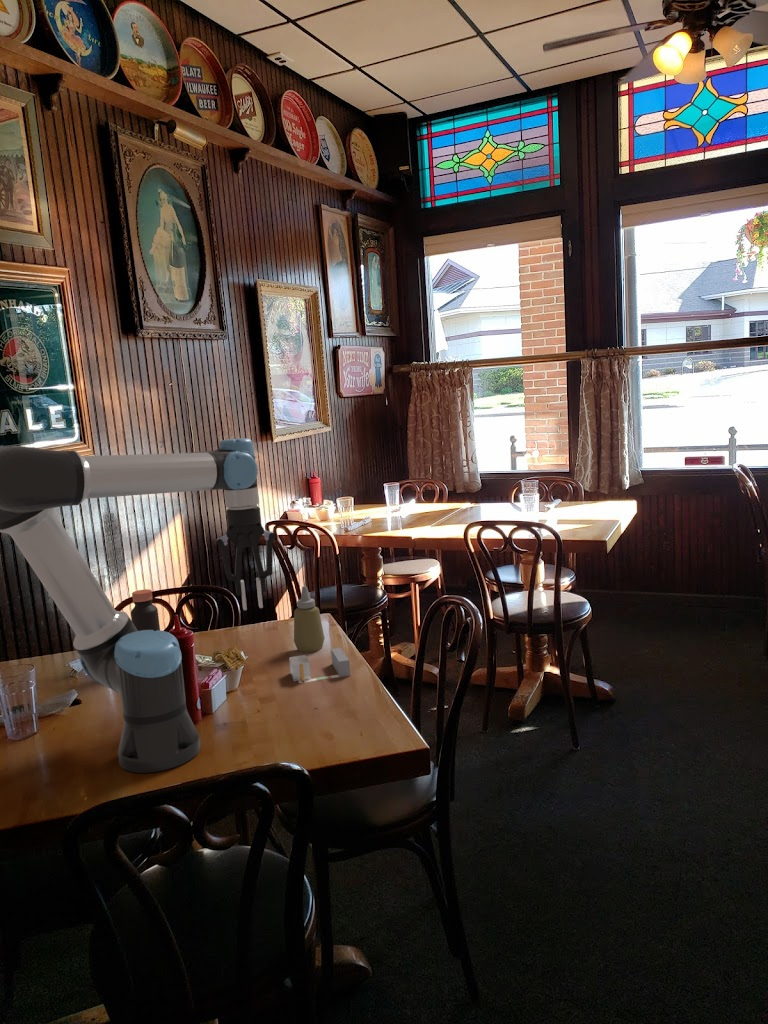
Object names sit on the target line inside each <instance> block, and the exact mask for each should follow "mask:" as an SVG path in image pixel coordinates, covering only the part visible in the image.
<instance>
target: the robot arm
mask: <svg viewBox="0 0 768 1024" xmlns="http://www.w3.org/2000/svg"><path fill="white" fill-rule="evenodd" d="M253 443H254V442H253V441H252V439H251V438H247V437H246V438H245V437H242V438H241V437H240V438H229V439H221V440H220V441H219V444H218V445H219V446H218V449H214V450H204V451H193V452H178V453H176V452H175V453H147V454H146V453H144V454H114V455H113V454H111V455H109V454H108V455H106V454H105V455H81V454H80V453H79V452H78V451H77V450H56V449H55V450H53V449H42V448H38V447H37V448H35V447H31V446H30V447H29V446H21V445H12V446H11V445H10V446H7V445H0V533H4V534H8V535H9V536H10V537H11V538H12V540H13V541H14V543H15V544H16V546H17V547H18V550H19V551H20V553H21V554H22V555H23V557H24V558H25V560H26V562H27V563H28V564H29V566H30V567H31V569H32V570H33V572H34V573H35V575H36V576H37V578H38V579H39V581H40V582H41V584H42V585H43V587H44V589H45V590H46V591H47V593H48V594H49V596H50V597H51V599H52V601H53V602H54V603H55V605H56V606H57V608H58V610H59V611H60V612H61V613H60V614H62V615H63V617H64V618H65V620H66V622H67V623H68V624H69V626H70V627H71V629H72V631H73V632H74V634H75V637H74V639H73V643H72V644H73V647H74V648H75V651H76V652H77V654H78V655H79V662H80V665H81V668H82V669H83V671H84V673H86V675H87V676H88V677H89V678H90V679H91V680H92V681H94V682H95V683H97V684H100V685H101V686H105V687H106V688H107V689H109V690H112V691H114V692H116V693H117V694H119V695H120V700H121V701H120V702H121V708H122V717H123V727H122V731H121V736H120V741H119V745H118V750H117V753H118V754H117V756H118V763H119V766H120V767H121V768H122V769H123V770H125V771H128V772H132V773H138V774H141V773H142V774H145V773H157V772H162V771H166V770H170V769H172V768H173V769H174V768H176V767H179V766H181V765H184V764H186V763H187V762H189V761H190V760H192V759H193V758H195V757H196V756H197V755H198V754H199V752H200V750H201V739H200V735H199V732H198V731H197V728H196V727H195V724H194V722H193V721H192V720H193V719H192V718H191V716H190V714H189V712H188V709H187V701H186V691H185V680H184V673H183V663H182V659H183V658H182V657H183V656H182V652H181V649H180V644H179V641H178V639H177V638H176V637H175V636H174V635H173V634H172V633H170V632H168V631H164V630H161V629H160V630H157V631H154V630H142V631H138V630H137V629H136V627H135V626H134V624H133V622H132V620H131V617H130V616H129V615H128V613H127V612H126V611H121V610H116V609H115V607H114V606H113V603H112V602H111V600H110V599H109V598H108V596H107V594H106V593H105V591H104V589H103V588H102V586H101V585H100V583H99V582H98V580H97V579H96V577H95V575H94V573H93V572H92V571H91V569H90V567H89V565H88V564H87V562H86V561H85V559H84V558H83V556H82V555H81V553H80V551H79V549H78V548H77V545H75V543H74V541H73V540H72V538H71V537H70V536H69V533H68V532H67V531H66V529H65V527H64V525H63V523H62V522H61V521H60V519H59V518H58V516H57V515H56V513H55V511H54V510H55V508H63V507H69V506H70V507H71V506H79V505H81V504H82V503H83V502H84V500H87V499H101V498H102V499H103V498H114V497H127V496H142V495H156V494H157V495H160V494H171V493H184V492H185V493H186V492H196V491H197V492H199V491H200V492H201V491H217V490H218V491H220V490H223V492H224V493H223V494H224V504H225V507H226V508H227V509H226V510H225V513H226V524H227V530H226V531H225V534H224V535H222V536H220V537H217V538H216V544H217V545H218V547H219V548H220V551H221V555H222V561H223V566H224V571H225V577H226V579H227V581H229V582H234V584H235V593H236V596H237V597H240V596H241V603H242V604H241V605H242V609H243V611H247V610H248V607H247V597H246V596H247V595H246V587H245V585H246V584H245V581H244V579H241V578H242V562H243V550H244V549H246V548H251V550H252V554H253V558H254V563H255V567H256V569H257V573H258V577H256V578H255V581H256V583H255V584H256V590H257V591H256V593H257V603H258V607H259V609H263V608H264V605H263V593H266V591H267V586H266V585H267V584H266V578H267V577H269V576H272V575H273V573H274V572H273V570H274V569H273V567H274V566H273V565H274V564H273V561H274V560H273V555H274V554H273V549H274V548H273V543H274V541H275V538H276V534H275V532H273V531H268V530H266V529H264V527H263V525H262V518H261V508H260V507H259V506H258V505H259V504H260V497H259V486H258V479H257V478H258V471H259V469H258V465H257V461H256V454H255V448H254V444H253ZM263 536H264V540H265V541H266V542H265V560H266V561H265V570H264V567H263V564H262V563H263V562H262V559H261V555H260V551H259V546H258V543H259V542H260V540H261V538H262V537H263ZM228 540H230V542H231V543H232V544H233V545H234V546H235V562H234V564H235V566H234V574H233V573H232V569H231V565H230V559H229V554H228V550H227V547H226V546H228Z"/></svg>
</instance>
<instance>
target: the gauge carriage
mask: <svg viewBox="0 0 768 1024" xmlns="http://www.w3.org/2000/svg"><path fill="white" fill-rule="evenodd" d="M288 661H289V669H290V670H289V672H290V675H291V677H292V680H293V682H298V681H301V680H302V681H303V680H308V679H312V676H311V663H310V660H309V659H308V657H307V654H301V655H295V656H290V657H289V658H288Z"/></svg>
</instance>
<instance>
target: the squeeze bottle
mask: <svg viewBox="0 0 768 1024" xmlns="http://www.w3.org/2000/svg"><path fill="white" fill-rule="evenodd" d="M296 607H297V608H296V609H295V610H294V611H293V644H294V645H295V647H296V649H297V651H298V652H300V653H312V652H314V653H315V652H317V651H320V650H321V649H323V647H324V643H325V634H324V629H323V623H322V618H321V613H320V608H319V607H317V606H316V601H315V598H311V596H310V593H309V590H308V586H301V595H300V599H297V601H296Z"/></svg>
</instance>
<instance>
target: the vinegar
mask: <svg viewBox="0 0 768 1024" xmlns="http://www.w3.org/2000/svg"><path fill="white" fill-rule="evenodd" d="M131 594H132V602H133V604H134V607H133V608H132V610H131V611H130V619H131V621H132V622H133V624H134V626H135V627H136V629H137V630H138V631H142V630H154V631H157V630H160V631H161V628H160V626H161V625H160V619H159V610H158V608H157V606H156V605H154V604H153V591H152V589H145V588H144V589H139V590H136V591H135V590H134V591H132V593H131Z"/></svg>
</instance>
